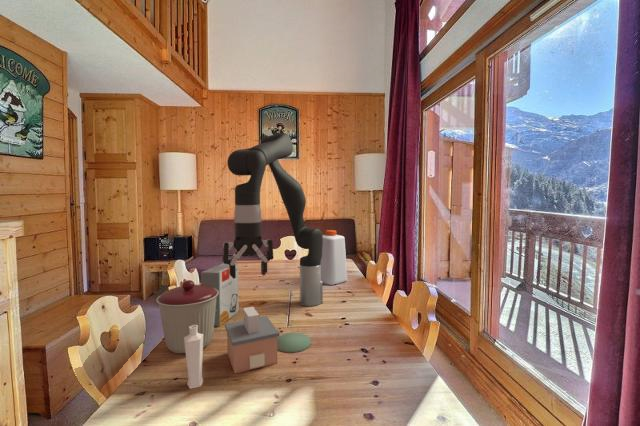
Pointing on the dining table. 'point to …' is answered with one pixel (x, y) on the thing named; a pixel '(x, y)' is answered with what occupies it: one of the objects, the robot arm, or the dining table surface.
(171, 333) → the canister
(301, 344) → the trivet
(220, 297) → the hard drive box
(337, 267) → the plastic bottle
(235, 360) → the crate
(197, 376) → the perfume bottle
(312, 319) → the dining table surface
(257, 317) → the lid
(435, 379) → the dining table surface
